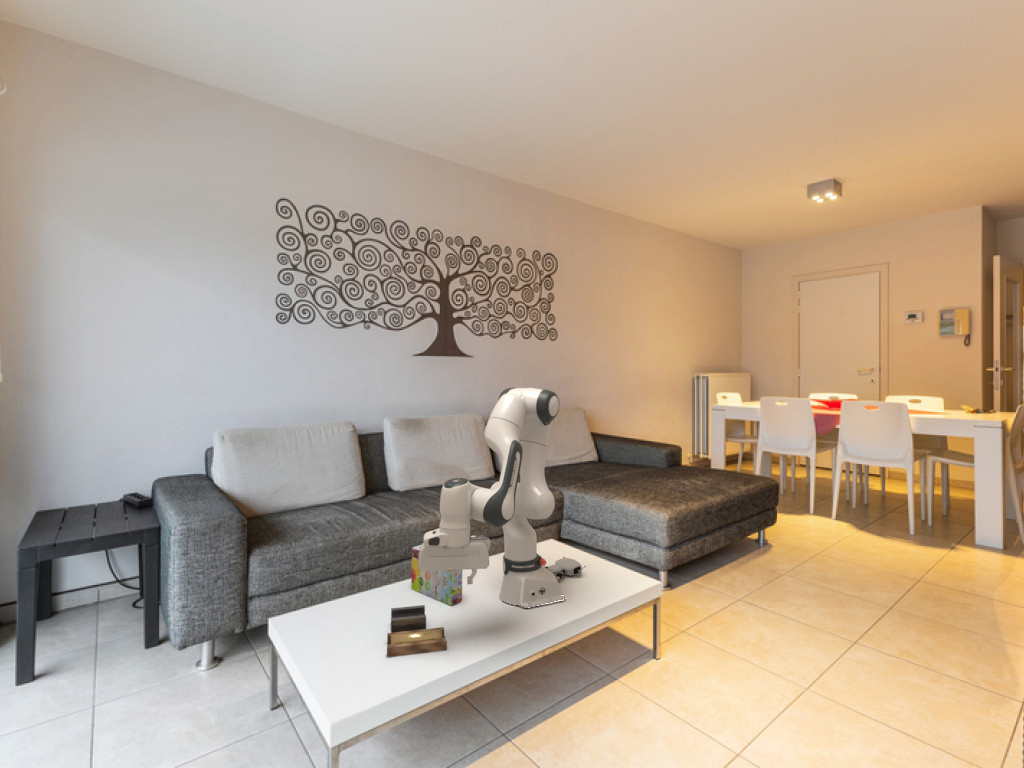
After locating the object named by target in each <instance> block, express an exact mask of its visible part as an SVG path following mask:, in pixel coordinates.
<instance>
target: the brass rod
mask: <svg viewBox="0 0 1024 768" xmlns="http://www.w3.org/2000/svg"><path fill="white" fill-rule="evenodd" d="M436 639H443V638H442V629H438V630H429V631H420V632H411V633H402V634H393V635H391V644H390V645H393V644H402V643H410V642H419V641H428V640H436Z"/></svg>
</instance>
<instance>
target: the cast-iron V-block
mask: <svg viewBox="0 0 1024 768" xmlns="http://www.w3.org/2000/svg"><path fill="white" fill-rule="evenodd" d="M390 610H391V612H390V613H391V615H390V633H394V632H403V631H413V630H422V629H427V614H426V606H425V604H422V605H413V606H402V607H392V608H391V609H390Z"/></svg>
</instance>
